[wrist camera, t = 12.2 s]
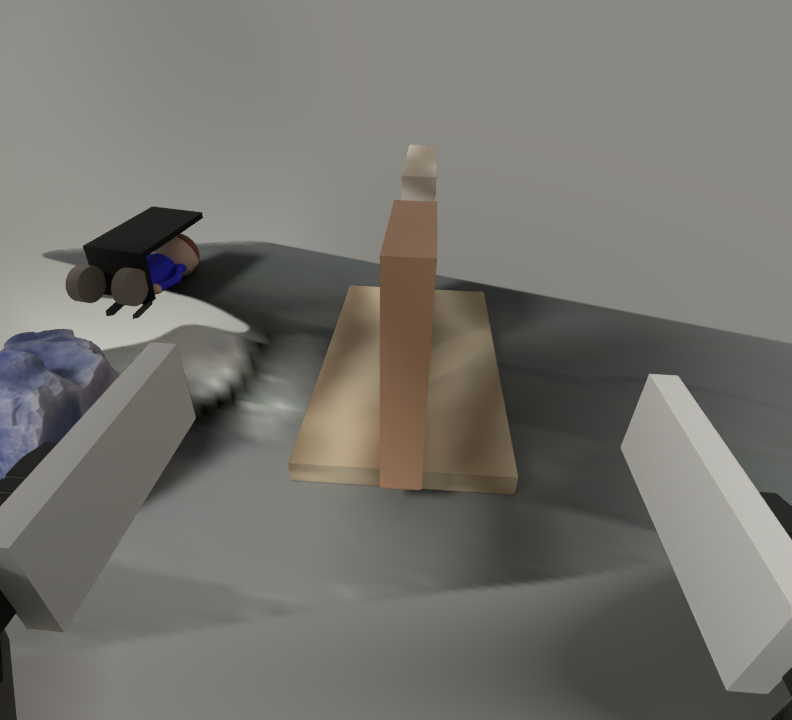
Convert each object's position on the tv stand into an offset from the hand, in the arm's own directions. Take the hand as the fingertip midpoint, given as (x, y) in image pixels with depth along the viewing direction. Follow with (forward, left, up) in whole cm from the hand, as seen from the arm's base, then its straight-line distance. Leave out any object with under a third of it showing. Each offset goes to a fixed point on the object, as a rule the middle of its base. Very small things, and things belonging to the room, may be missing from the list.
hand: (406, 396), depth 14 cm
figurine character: (-28, +35, -15) cm, 48 cm away
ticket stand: (0, +23, -15) cm, 27 cm away
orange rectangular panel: (0, +13, -13) cm, 18 cm away
